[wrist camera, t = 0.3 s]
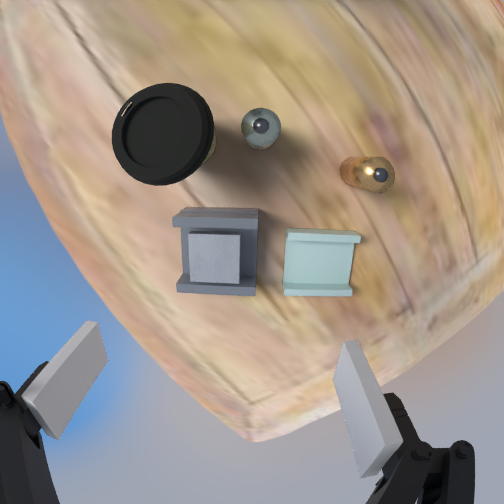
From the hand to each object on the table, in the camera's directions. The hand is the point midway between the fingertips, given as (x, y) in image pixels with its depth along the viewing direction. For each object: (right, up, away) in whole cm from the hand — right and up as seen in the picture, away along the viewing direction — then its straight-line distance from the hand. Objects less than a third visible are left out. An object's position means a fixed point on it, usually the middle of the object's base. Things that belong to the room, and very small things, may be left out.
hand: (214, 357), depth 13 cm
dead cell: (+3, +21, +21) cm, 30 cm away
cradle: (-2, +7, +26) cm, 27 cm away
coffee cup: (-6, +20, +22) cm, 30 cm away
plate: (-3, +5, +21) cm, 21 cm away
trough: (+12, +4, +26) cm, 29 cm away
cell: (+16, +16, +22) cm, 32 cm away
